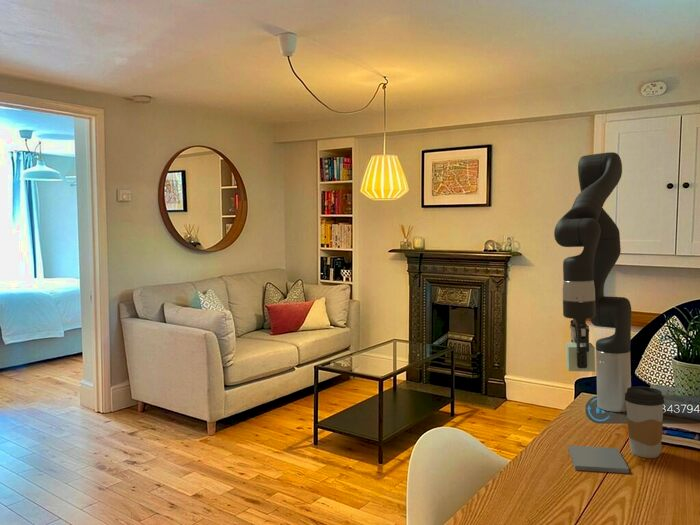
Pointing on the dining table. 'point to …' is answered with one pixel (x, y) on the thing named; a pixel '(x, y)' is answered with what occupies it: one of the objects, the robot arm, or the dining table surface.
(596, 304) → the robot arm
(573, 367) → the sage block
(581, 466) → the slate board
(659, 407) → the coffee cup
